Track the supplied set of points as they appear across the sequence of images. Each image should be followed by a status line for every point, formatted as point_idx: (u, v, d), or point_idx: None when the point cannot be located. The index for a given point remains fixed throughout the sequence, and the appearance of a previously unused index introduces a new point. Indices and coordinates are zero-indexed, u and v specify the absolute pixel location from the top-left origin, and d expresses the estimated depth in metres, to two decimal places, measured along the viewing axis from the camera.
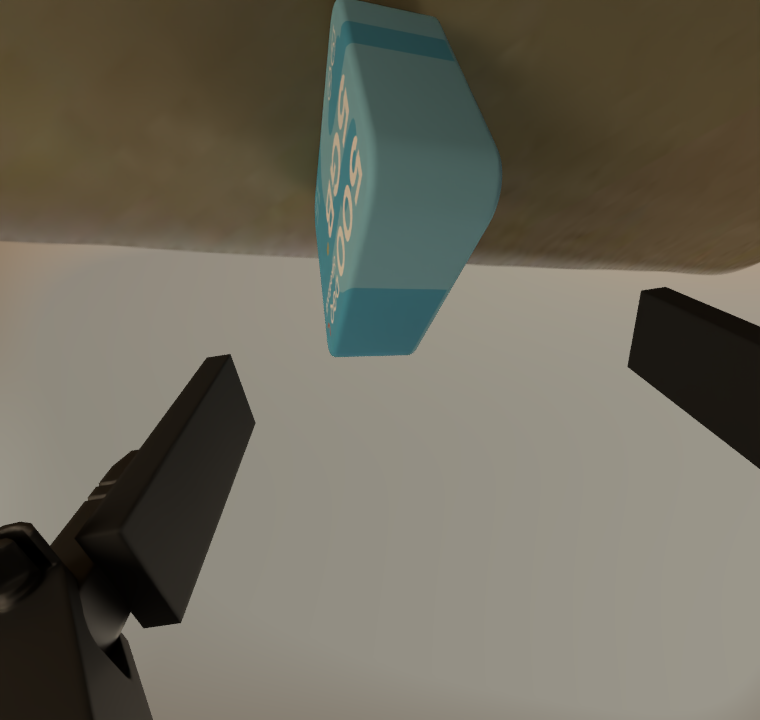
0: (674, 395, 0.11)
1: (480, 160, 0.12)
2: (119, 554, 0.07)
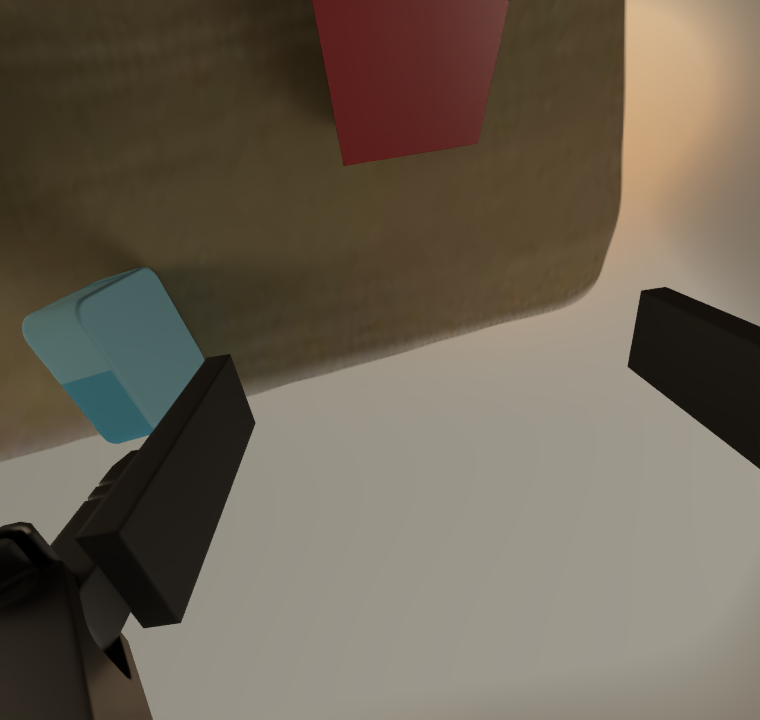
0: (674, 395, 0.11)
1: (69, 304, 0.27)
2: (119, 554, 0.07)
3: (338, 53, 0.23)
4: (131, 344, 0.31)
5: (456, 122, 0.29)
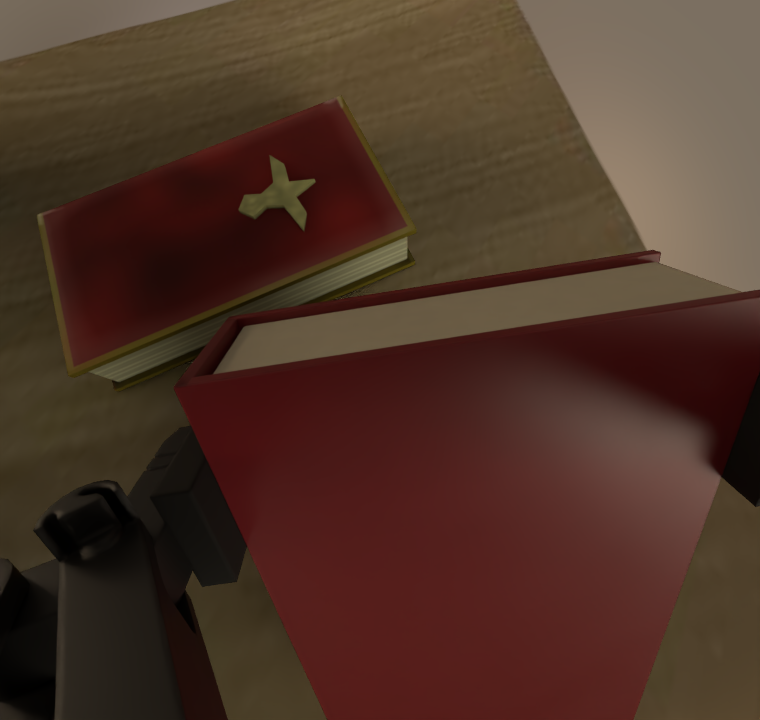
0: None
1: None
2: (188, 513, 0.07)
3: (343, 686, 0.12)
4: None
5: None
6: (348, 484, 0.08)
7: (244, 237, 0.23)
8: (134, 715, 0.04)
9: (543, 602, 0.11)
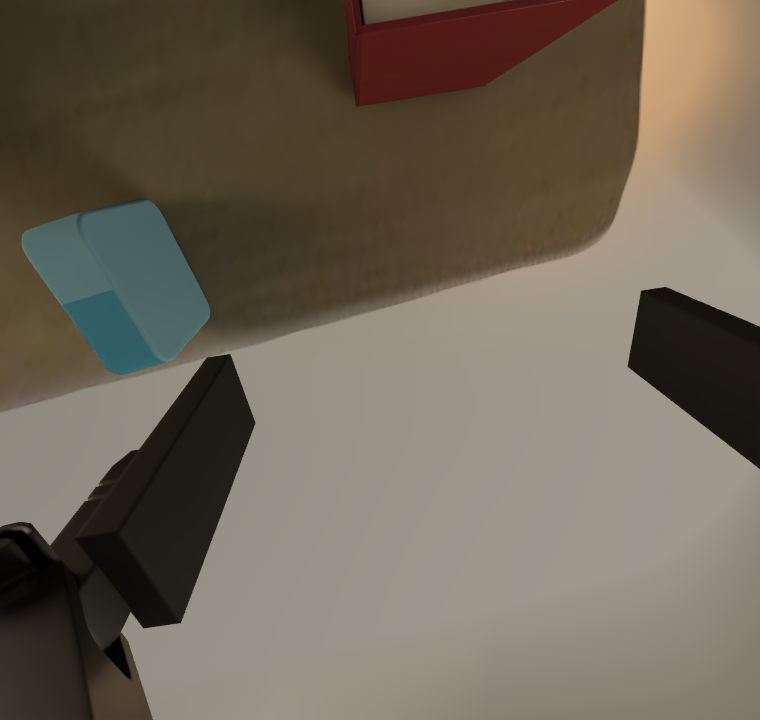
0: (674, 395, 0.11)
1: (70, 217, 0.26)
2: (119, 554, 0.07)
3: (370, 86, 0.25)
4: (134, 269, 0.30)
5: (467, 84, 0.31)
6: (412, 45, 0.18)
7: None
8: None
9: (476, 59, 0.23)
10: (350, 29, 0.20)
